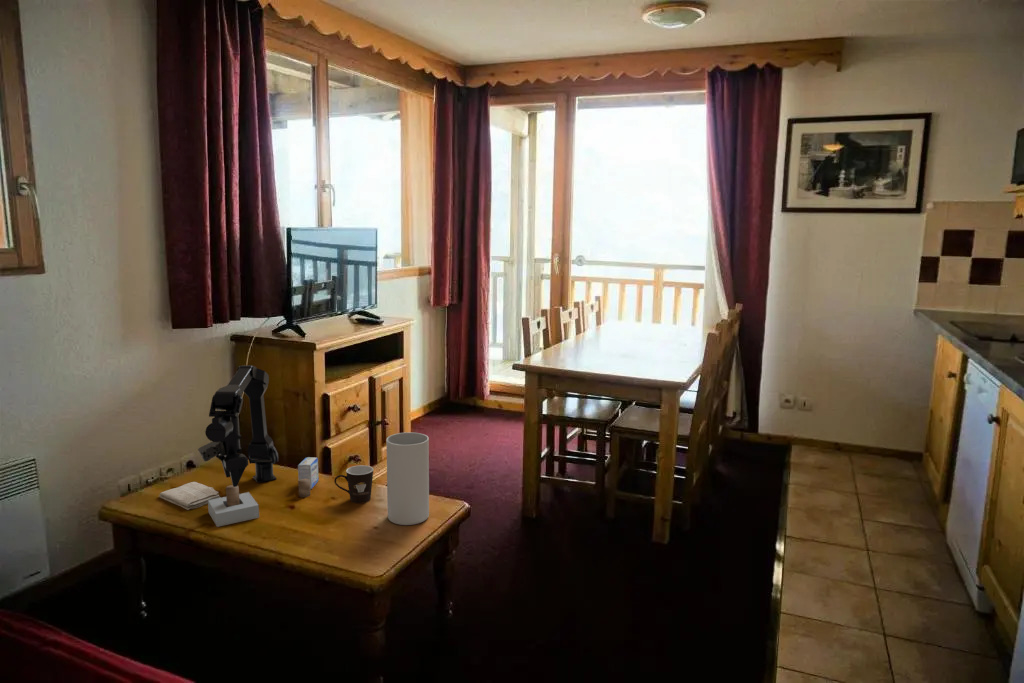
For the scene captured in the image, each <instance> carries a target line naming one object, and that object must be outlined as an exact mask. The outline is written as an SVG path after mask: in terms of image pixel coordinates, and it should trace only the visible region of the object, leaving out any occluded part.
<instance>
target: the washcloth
mask: <svg viewBox="0 0 1024 683" xmlns="http://www.w3.org/2000/svg"><path fill="white" fill-rule="evenodd" d="M158 497H159V498H160V499H163V500H164V501H167V502H169V503H171V504H174V505H176V506H179V507H181V508H183V509H185V510H187V511H190V510H193V509H197V508H200V507H203V506H205V505H208V500H212V499H217V498H222V497H221V496H220V495H219V491H217V490H215V489H214V487H212V486H211V487H210V486H207V485H205V484H202V483H199V482H197V481H192V482H188V483H184V484H183V485H180V486H177V487H174V488H171V489H166V490H165V491H162V492H160V493H159V496H158Z"/></svg>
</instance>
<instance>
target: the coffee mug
mask: <svg viewBox="0 0 1024 683" xmlns="http://www.w3.org/2000/svg"><path fill="white" fill-rule="evenodd" d="M345 473H346V475H345V474H338V475H337V476H336V477H335V478H334V485H335V486H336V487H338V489H341V490H343V491H344V492H346V493H348V494H349V499H350V502H351V503H354V504H365V503H368V502H370V501H371V498H372V497H371V496H372V488H373V487H372V486H373V477H374V476H373V475H374V468H373V467H372V466H370V465H363V464H362V465H361V464H360V465H354V466H350V467H348V468H347V469H346V471H345ZM339 478H344V479H345V481H346V482H347V485H348V486H347V487H348V489H347V488H345V487H342V486H340V485H339V484H338V483H337V480H338V479H339Z"/></svg>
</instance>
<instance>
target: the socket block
mask: <svg viewBox="0 0 1024 683" xmlns="http://www.w3.org/2000/svg"><path fill="white" fill-rule="evenodd" d="M239 501H240V505H235V506H230V507H227V499H226V496H223V497H221V498H217V499H212V500H208V504H207V507H208V514H209V516H210V517H211V519H212V521H213V522H214V524H215V526H216V527H217V528H219V527H223V526H226V525H227V526H228V525H231V524H235V523H236V524H237V523H241V522H245V521H250V520H254V519H259V518H260V509H259V508H260V507H259V506H260V504H258V502H257V501H256V500H255V498H254V497H253V496H252V494H251V493H250V492H249V491H247V492H243V493H239Z"/></svg>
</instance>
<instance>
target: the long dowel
mask: <svg viewBox="0 0 1024 683" xmlns="http://www.w3.org/2000/svg"><path fill="white" fill-rule="evenodd" d="M239 487H240V486H239V485H238V486H236V487H233V484H230V485H227V486H226V487H225V494H226V496H225V497H226V499H227V507H230V506H235V505H240V501H239V494H240V488H239Z"/></svg>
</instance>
